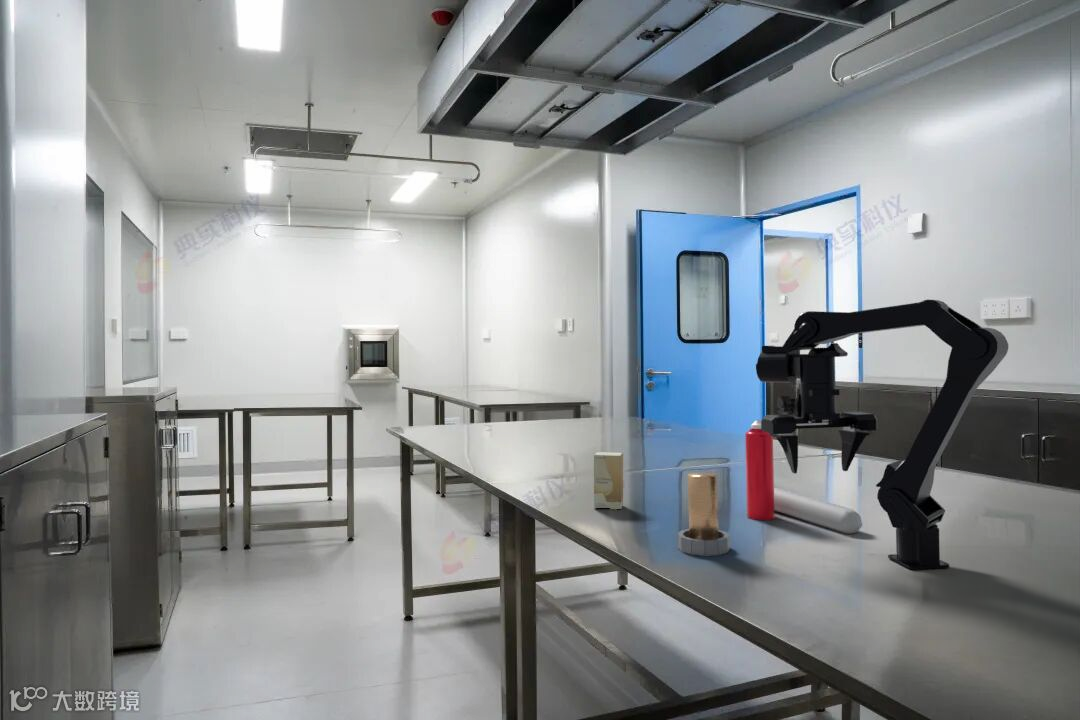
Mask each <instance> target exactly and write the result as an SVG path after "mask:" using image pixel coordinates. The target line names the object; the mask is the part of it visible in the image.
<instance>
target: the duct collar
mask: <svg viewBox="0 0 1080 720" xmlns="http://www.w3.org/2000/svg"><path fill="white" fill-rule="evenodd" d="M730 536H731V535H730V533H728V532H727V531H724V530H719V529H718V537H719V539H713V540H700V539H692V538H689V528H686V529H682V530H680V531H679V532H678V533H677V547H678V550H680V552H682V553H685V554H688V555H693V556H701V557H702V556H703V557H706V556H707V557H708V556H709V557H710V556H712V557H713V556H720V555H724V554H727V553H729V551H730V549H731V544H730V543H731V541H730V540H731V537H730Z"/></svg>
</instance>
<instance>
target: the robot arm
mask: <svg viewBox="0 0 1080 720" xmlns="http://www.w3.org/2000/svg"><path fill="white" fill-rule="evenodd" d="M921 326H923V327H924V326H925V327H926V328H928V329H929V330H930V331H931V332H933V333H934V335H936V336H937V337H938V338H939V339H940V340H941V341H942V342H943V343H946V344H947V345H948V346H949V347H951V350H950V353H949V357H948V360H947V361H948V362H947V370H946V378H945V381H944V383H943V385H942V387H941V389H940V391H939V393H938V394H937V397H936V399H935V401H934V403H933V405H932V407H931V408H930V410H929V412H928V414H927V416H926V418H925V420H924V422H923V424H922V426H921V428H920V429H919V432H918V434H917V436H916V438H915V439H914V442H913V444H912V446H911V447H910V449H909V452H908V453H907V456H906V457H905V458H904V460H901V459H900V460H896V461H893V462H891V463H888V464H886V466H885V469H884V472H883V476H882V478H881V480H880V481H879V482H877V483H876V484H875V487H876V488H879V489H878V491H877V495H876V497H877V500H878V503H879V505H880V507H881V508H882V509H883V511H884V512H886V514H887V516H888V519H889V521H890V525H891V526H892V528H895V538H896V539H895V542H896V546H895V547H896V553H895V554H892V553H891V554H888V555H887V559H889V560H892V561H894V562H895V563H898V564H900V565H901V566H903V567H905V568H908V569H909V570H922V569H923V570H925V569H939V568H940V569H942V568H950V563H948V562H947V561H943V560H941V559H940V558H941V556H940V554H941V552H940V549H941V547H940V528H939V526H938V525H937V524H938V523H941V522H942V520H943V519H944V515H945V513H946V509H944V507H943V506H941V504H940V503H939V502H938V501H937V500H935V498H934V497H933V496H932V495H931V492H932V488H933V486H934V485H933V484H934V480H935V468H936V465H937V464H938V462H939V460H940V459H941V456H942V454H943V452H944V450H945V448H946V447H947V446H948V443H949V441H950V440H951V438H952V435H953V434H954V433H955V429H956V428H957V426H958V424H959V423H960V421H961V418H962V417H963V415H964V413H965V411H966V409H967V407H968V405H969V403H970V401H971V400H972V398H973V395H974V394H975V392H976V390H977V389H978V388H979V386H980V385H981V384H983V383H984V382H985V380H986V379H987V378H988V377H989V376H990V375H991V374H993V372H994V371H995V370H996V368H997V367H998V366H999V364H1000V363H1002V361H1003V360H1004V358H1005V357H1007V354H1008V351H1009V342H1008V340H1007V338H1006V336H1005V335H1004V334H1003V333H1002V332H1001V331H999V330H998V329H995V328H991V327H983V326H981V325H979V324H978V323H976V322H974V321H973V320H971V319H970V318H968V317H966V316H965V315H963V314H962V313H960V312H958V311H956V310H954V309H953V308H952V307H950V306H949V305H948V304H947V303H945V301H941V300H940V299H939V300H938V299H925V300H921V301H919V302H913V303H905V304H898V305H892V306H891V305H890V306H884V307H879V308H878V307H877V308H869V309H864V310H857V311H850V312H846V311H845V312H843V311H812V310H811V311H810V310H808V311H805V312H802V313H801V314H799V315H798V316H797V319H795V323H794V327H793V328H794V329H793V330H792V332H791V333H790V334H789V336H788V337H787V339H786V341H785V342H784V344H783V345H782V346H779V345H778V346H776V345H762V346H761V352H760V354H759V356H758V358H757V361H756V364H755V369H756V370H755V371H756V377H757V378H758V381H760V382H762V383H795V381H796V380H797V379H798V378H799V377H800V380H799V381H800V387H799V388H797V389H796V397H794V398H791V396H790V395H780V396H778V397H777V399H776V400H777V401H776V402H777V403H776V408H777V413H778V414H764V416H763V417H762V419H761V420H762V421H761V431H765V432H768V433H769V435H770V436H773V438H776V440H777V441H778V443H779V444H780V446H781V449H782V450H783V452H784V455H785V457H786V460H787V463H788V466H789V468H790V470H791V472H792V474H797V473H798V468H799V435H797V434H794V432H795V431H796V430H799V429H804V430H805V429H827V428H839V429H838V432H839V433H838V434H839V435H840V438H841V439H840V440H841V458H840V459H841V468H842V471H843V472H849V471H848V470H849V469H850V466H851V464H852V463H853V460H854V458H855V457H856V454H857V451H858V450H859V448H860V446H861V445H862V444H863V441H864V440H865V438H866V437H869V436H871V434H872V432H869V431H878V430H879V429H878V425H879V423H878V422H879V421H878V419H877V416H876V415H874V413H870V412H864V411H846V412H841V413H840V412H837V403H836V401H837V398H836V397H837V396H840V389H839V388H837V387H836V358H839V357H847V356H848V354H849V353H848V351H846V350H844V349H843V348H842V347H841V346H840V344H839V343H838V342H837V341H841V340H844V339H847V338H849V337H851V336H855V335H858V334H864V333H871V332H872V333H873V332H881V331H890V330H896V329H906V328H912V327H913V328H914V327H915V328H916V327H921ZM835 342H836V343H835ZM827 344H829V346H827V347H818V346H819V345H827ZM807 350H808V353H806V354H805V353H801V351H807ZM840 428H841V429H840Z"/></svg>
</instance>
